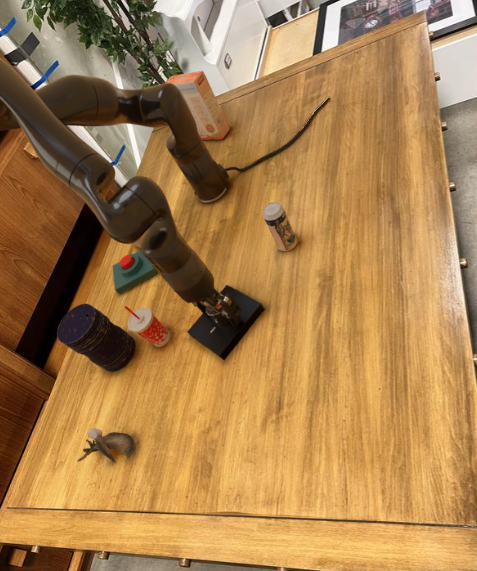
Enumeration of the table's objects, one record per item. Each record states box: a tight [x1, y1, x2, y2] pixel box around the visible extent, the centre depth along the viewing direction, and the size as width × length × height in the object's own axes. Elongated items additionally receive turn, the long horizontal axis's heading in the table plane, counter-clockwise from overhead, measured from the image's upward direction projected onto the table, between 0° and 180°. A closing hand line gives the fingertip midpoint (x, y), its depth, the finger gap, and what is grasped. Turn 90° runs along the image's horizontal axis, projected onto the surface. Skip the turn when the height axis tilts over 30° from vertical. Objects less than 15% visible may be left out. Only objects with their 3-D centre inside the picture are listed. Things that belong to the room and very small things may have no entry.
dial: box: [206, 302, 229, 326], centre depth 82 cm, size 4×4×5 cm
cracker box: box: [165, 70, 231, 141], centre depth 128 cm, size 14×6×21 cm, turn 58°
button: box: [119, 254, 135, 269], centre depth 105 cm, size 4×4×2 cm
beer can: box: [262, 201, 298, 252], centre depth 88 cm, size 5×5×12 cm
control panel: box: [186, 284, 266, 362], centre depth 85 cm, size 14×11×3 cm
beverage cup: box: [124, 305, 171, 348], centre depth 86 cm, size 6×6×14 cm
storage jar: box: [56, 303, 137, 373], centre depth 88 cm, size 10×10×15 cm
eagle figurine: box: [76, 427, 136, 464], centre depth 77 cm, size 8×7×9 cm
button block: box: [112, 249, 159, 295], centre depth 107 cm, size 12×10×4 cm
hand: (222, 317), depth 84 cm, fingers open, 8 cm apart
